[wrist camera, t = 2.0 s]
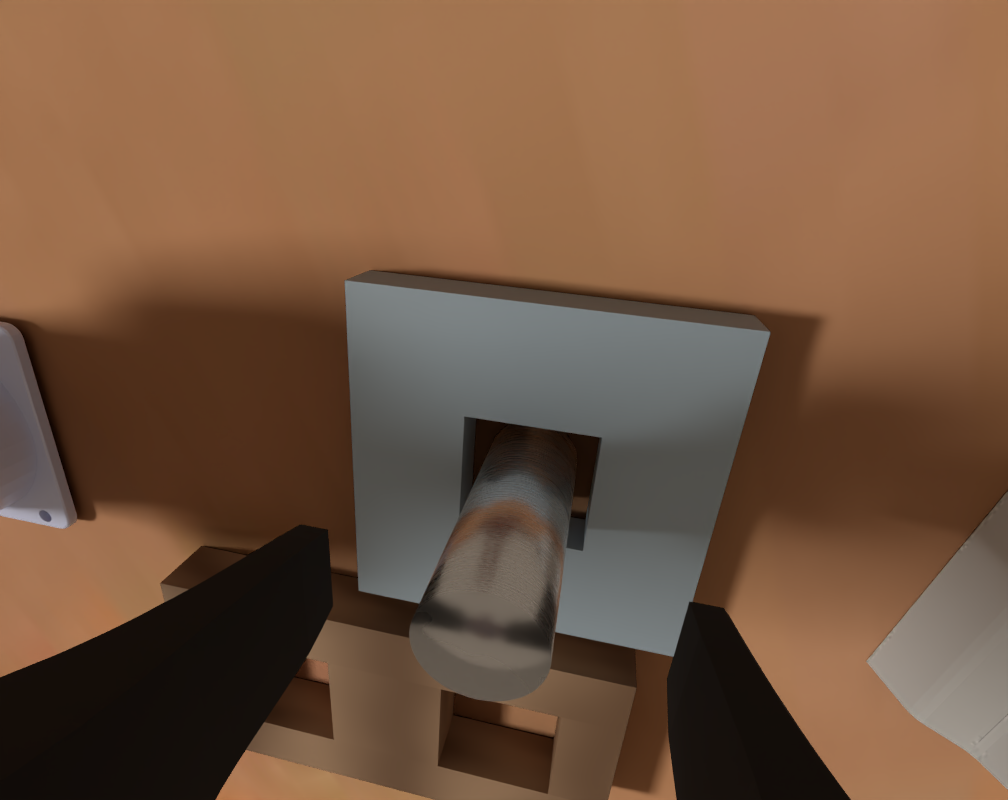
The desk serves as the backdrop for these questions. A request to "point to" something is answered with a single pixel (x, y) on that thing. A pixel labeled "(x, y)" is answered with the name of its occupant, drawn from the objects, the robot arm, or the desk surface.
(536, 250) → the desk surface
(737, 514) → the desk surface
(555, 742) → the rack
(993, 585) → the grey arched plastic casing
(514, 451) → the peg
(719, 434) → the socket block
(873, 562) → the desk surface
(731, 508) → the desk surface
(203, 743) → the robot arm
